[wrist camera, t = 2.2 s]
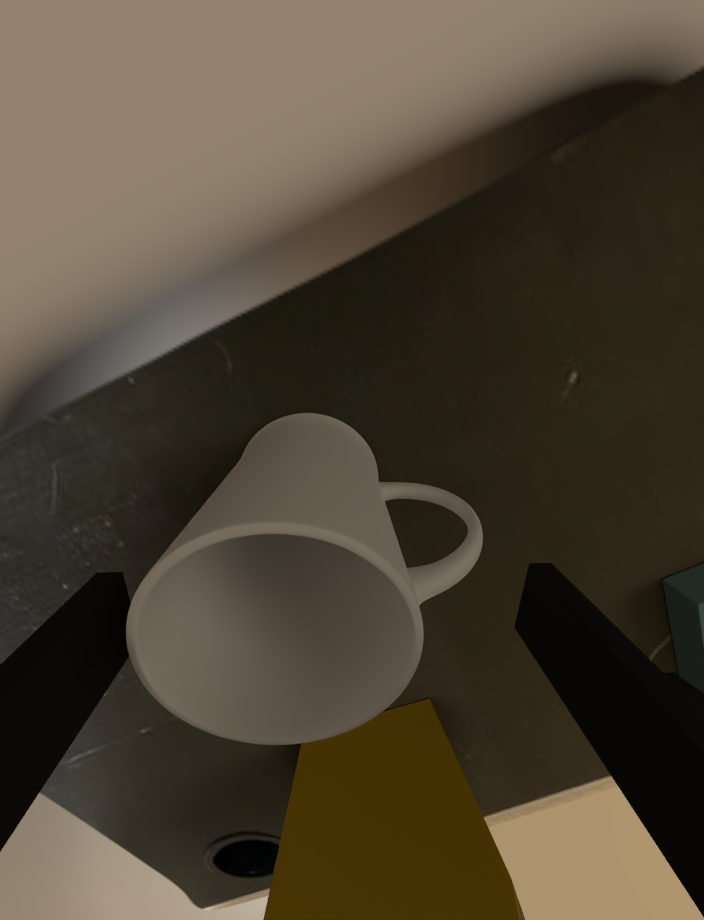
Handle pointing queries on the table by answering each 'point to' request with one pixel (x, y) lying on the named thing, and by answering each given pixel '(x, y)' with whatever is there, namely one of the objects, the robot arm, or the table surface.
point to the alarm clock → (387, 830)
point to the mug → (291, 592)
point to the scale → (687, 622)
